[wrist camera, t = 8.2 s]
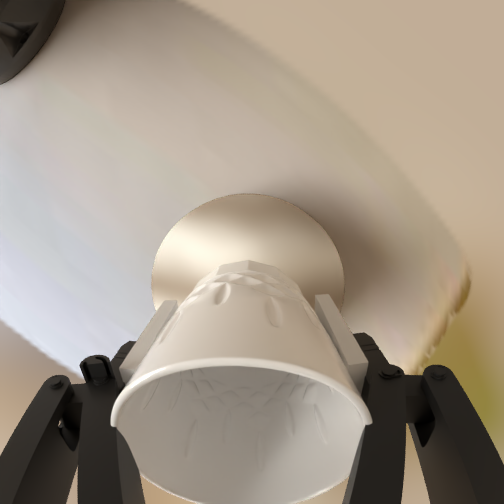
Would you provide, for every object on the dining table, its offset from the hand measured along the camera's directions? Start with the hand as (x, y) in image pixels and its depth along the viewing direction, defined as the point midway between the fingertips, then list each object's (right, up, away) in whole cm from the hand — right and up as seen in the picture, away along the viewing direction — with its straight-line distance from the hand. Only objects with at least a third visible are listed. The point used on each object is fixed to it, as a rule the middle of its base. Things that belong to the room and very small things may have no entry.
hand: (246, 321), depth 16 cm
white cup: (0, 0, +1) cm, 1 cm away
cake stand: (0, +2, +9) cm, 9 cm away
